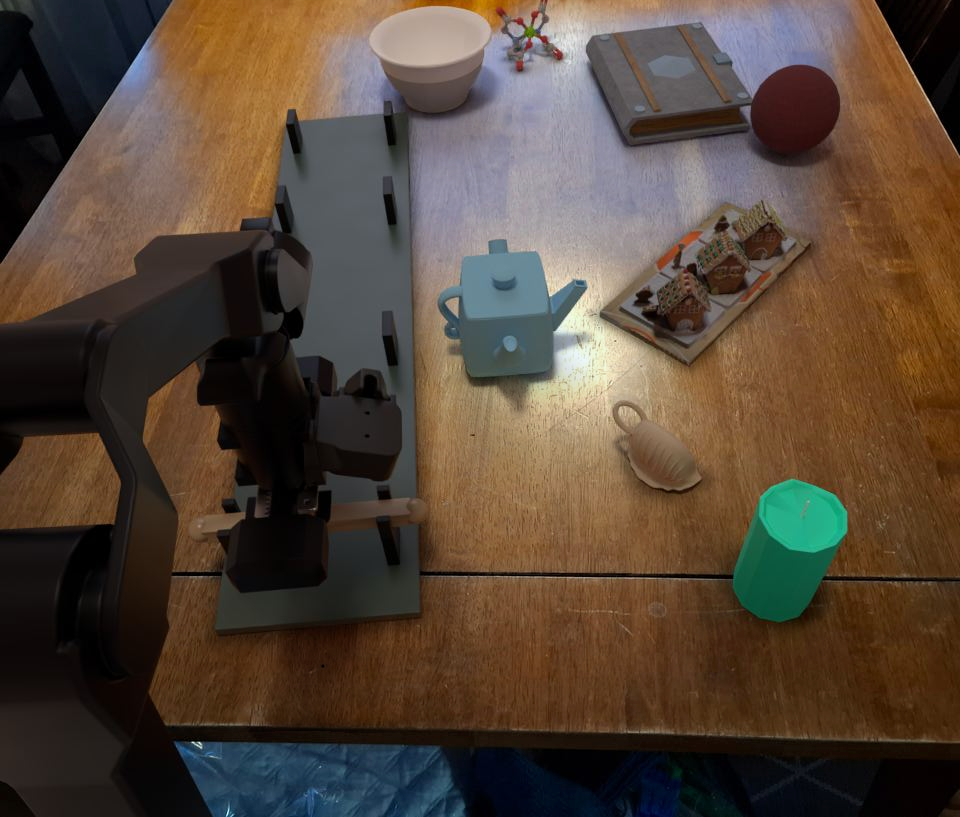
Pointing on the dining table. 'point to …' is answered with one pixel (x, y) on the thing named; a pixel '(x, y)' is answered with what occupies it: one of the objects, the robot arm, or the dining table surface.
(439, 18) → the bowl
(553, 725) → the dining table surface
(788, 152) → the decorative ball
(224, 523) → the beige rounded rod
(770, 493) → the candle
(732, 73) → the book
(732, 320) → the gingerbread house
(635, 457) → the decorative ornament
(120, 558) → the robot arm
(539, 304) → the teapot
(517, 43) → the molecular model
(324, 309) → the rack
